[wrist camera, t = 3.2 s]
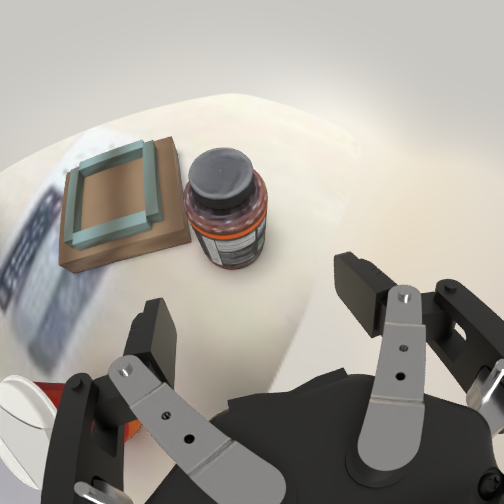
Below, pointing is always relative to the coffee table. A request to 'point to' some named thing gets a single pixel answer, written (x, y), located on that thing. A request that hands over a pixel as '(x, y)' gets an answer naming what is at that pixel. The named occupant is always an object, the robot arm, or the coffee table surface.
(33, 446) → the paper cup
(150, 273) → the coffee table surface
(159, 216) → the walnut foundation
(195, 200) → the supplement bottle
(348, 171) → the coffee table surface
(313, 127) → the coffee table surface
